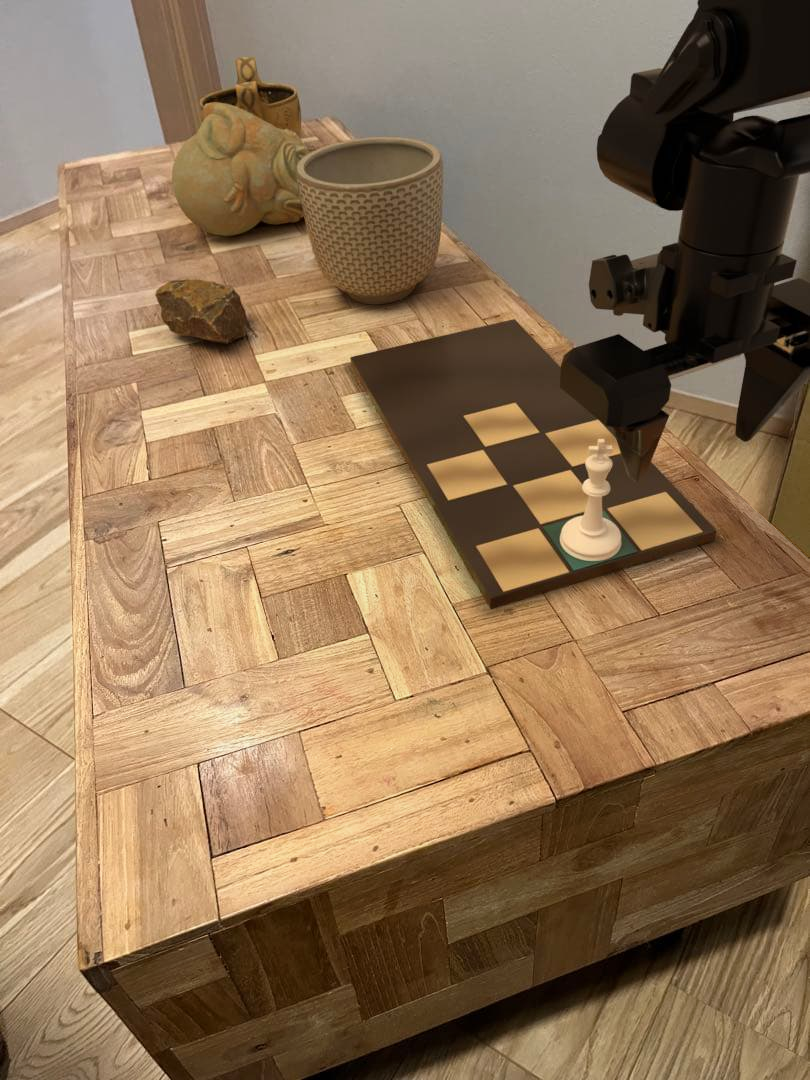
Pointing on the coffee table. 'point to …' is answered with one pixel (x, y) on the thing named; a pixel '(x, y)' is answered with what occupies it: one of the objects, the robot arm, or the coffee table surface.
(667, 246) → the robot arm
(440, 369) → the game board
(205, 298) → the rock
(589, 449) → the chess piece
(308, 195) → the planter
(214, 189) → the sculpture
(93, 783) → the coffee table surface
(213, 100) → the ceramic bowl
